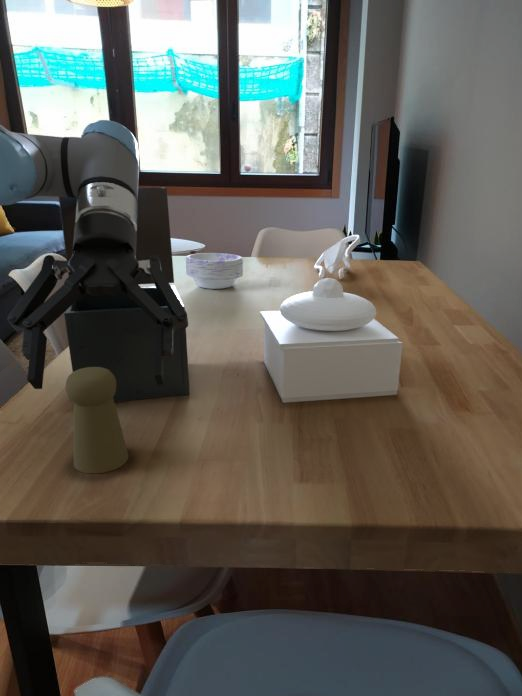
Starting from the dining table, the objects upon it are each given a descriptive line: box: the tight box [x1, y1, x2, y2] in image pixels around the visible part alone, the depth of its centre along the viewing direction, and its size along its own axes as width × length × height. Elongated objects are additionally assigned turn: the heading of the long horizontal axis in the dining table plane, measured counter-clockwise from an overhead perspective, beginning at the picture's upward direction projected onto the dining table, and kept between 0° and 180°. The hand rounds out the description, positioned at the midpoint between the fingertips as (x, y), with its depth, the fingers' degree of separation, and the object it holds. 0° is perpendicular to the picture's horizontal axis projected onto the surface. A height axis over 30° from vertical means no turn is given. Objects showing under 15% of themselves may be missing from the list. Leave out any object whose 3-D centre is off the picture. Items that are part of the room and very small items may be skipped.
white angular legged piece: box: [314, 234, 361, 280], centre depth 163 cm, size 17×9×22 cm
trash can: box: [63, 285, 190, 403], centre depth 81 cm, size 14×16×13 cm
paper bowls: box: [185, 252, 244, 290], centre depth 146 cm, size 15×15×8 cm
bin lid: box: [58, 187, 175, 287], centre depth 83 cm, size 14×16×1 cm
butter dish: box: [259, 277, 403, 404], centre depth 84 cm, size 18×18×16 cm
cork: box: [65, 367, 129, 475], centre depth 60 cm, size 6×6×11 cm
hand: (97, 382), depth 61 cm, fingers open, 13 cm apart
